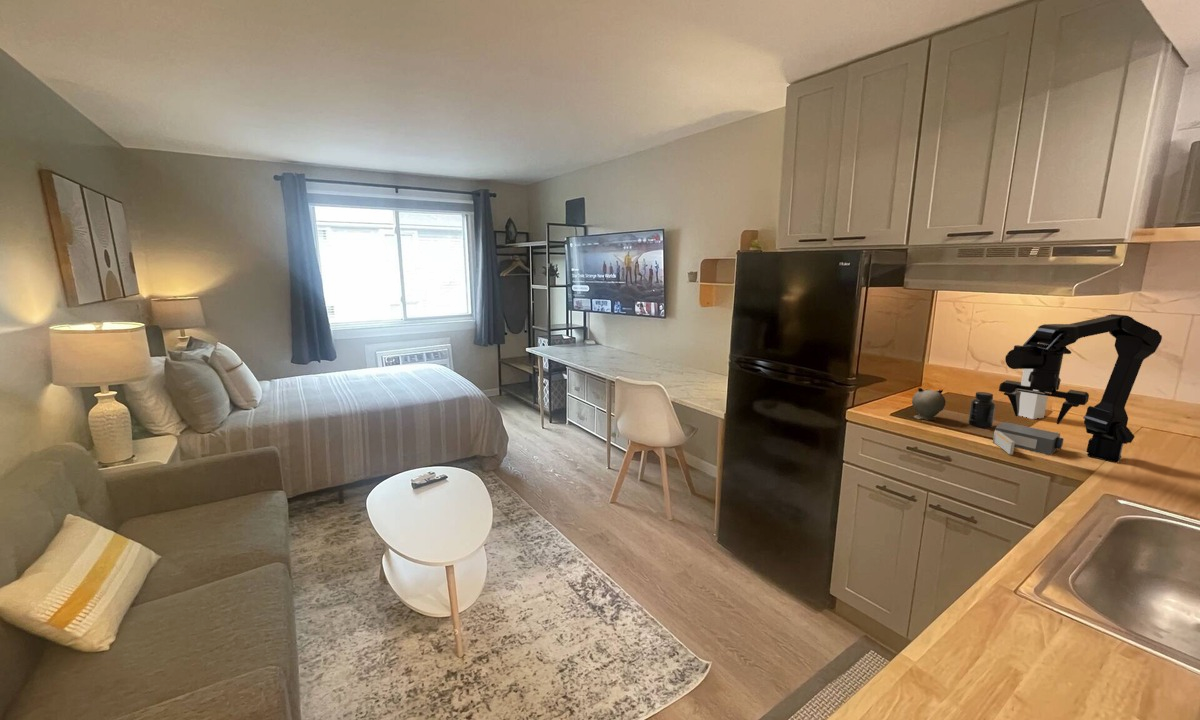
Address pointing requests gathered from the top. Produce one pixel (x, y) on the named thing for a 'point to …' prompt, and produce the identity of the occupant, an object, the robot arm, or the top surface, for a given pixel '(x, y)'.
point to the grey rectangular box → (1031, 438)
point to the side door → (1004, 442)
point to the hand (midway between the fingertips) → (1036, 419)
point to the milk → (1031, 400)
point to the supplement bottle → (982, 410)
